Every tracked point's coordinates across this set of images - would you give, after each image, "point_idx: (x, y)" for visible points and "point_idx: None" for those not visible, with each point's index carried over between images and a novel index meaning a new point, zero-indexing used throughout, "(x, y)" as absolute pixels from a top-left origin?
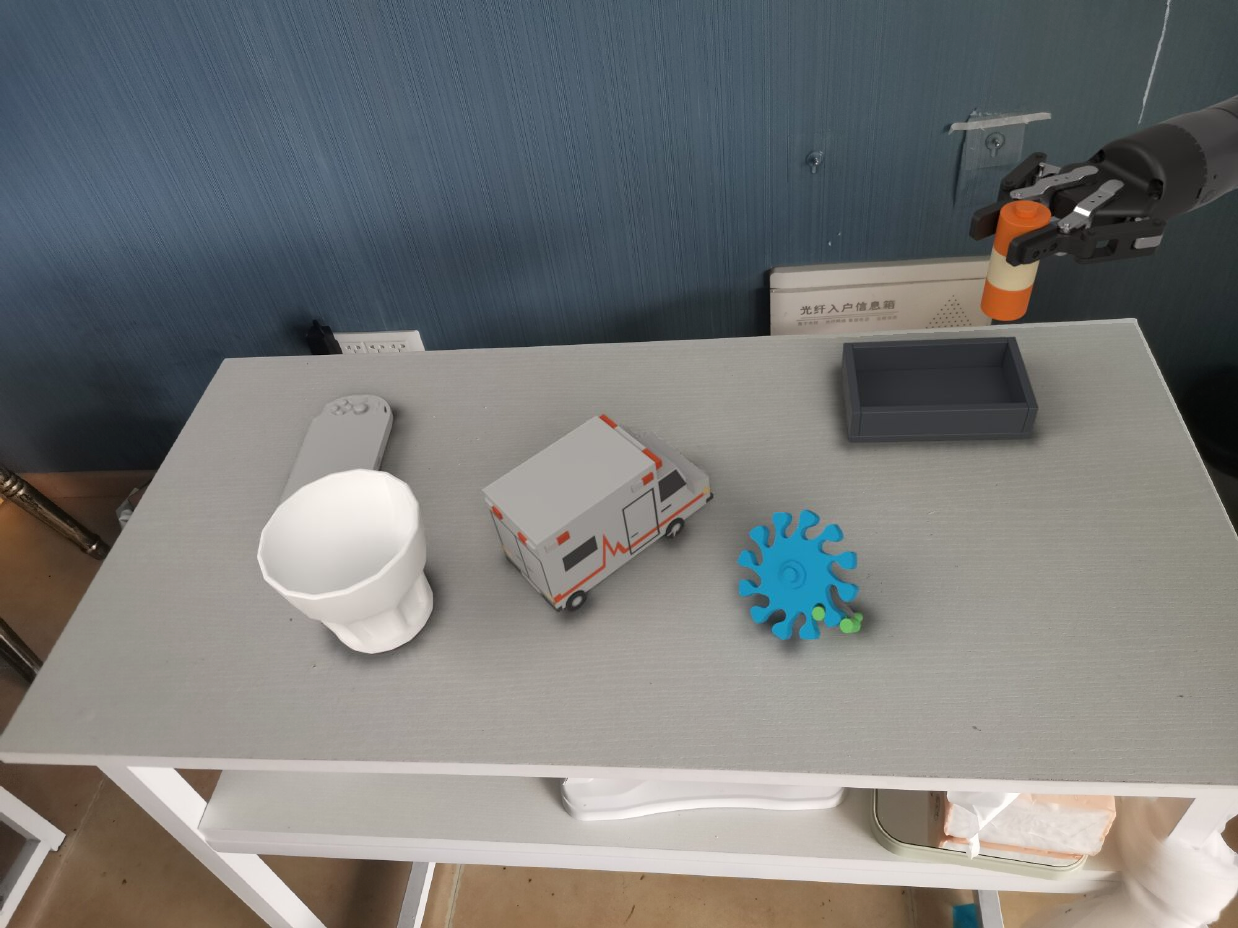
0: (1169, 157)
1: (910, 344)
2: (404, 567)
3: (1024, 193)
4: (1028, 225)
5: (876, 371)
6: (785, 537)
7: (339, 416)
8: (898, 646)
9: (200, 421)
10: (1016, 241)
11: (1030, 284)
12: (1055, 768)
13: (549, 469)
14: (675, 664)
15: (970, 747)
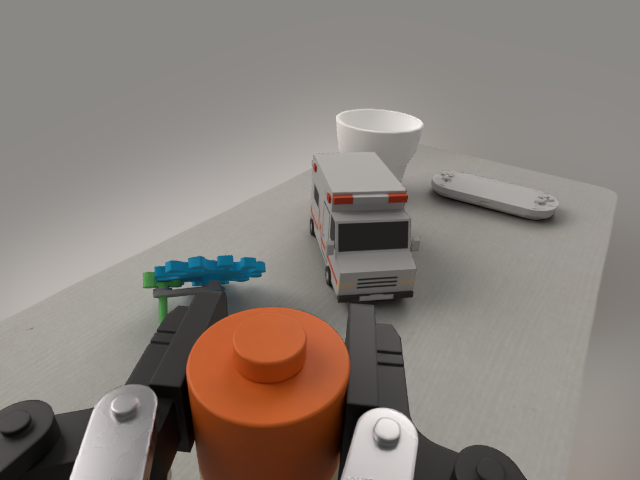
0: None
1: None
2: (343, 134)
3: (378, 454)
4: (219, 321)
5: None
6: (235, 266)
7: (536, 196)
8: (120, 331)
9: (564, 178)
10: (210, 292)
11: None
12: None
13: (369, 167)
14: (236, 247)
15: (28, 318)
